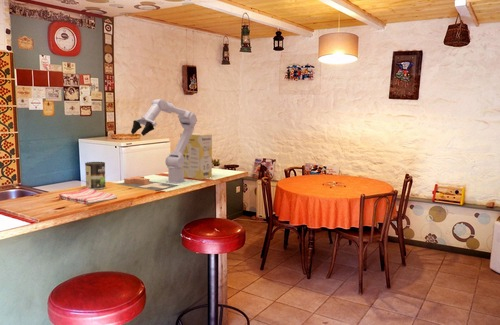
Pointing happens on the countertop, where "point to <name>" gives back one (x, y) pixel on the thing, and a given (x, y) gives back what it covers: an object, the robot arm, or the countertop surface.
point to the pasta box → (198, 156)
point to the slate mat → (151, 185)
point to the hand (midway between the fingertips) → (137, 133)
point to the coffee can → (95, 175)
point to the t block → (136, 180)
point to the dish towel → (87, 196)
